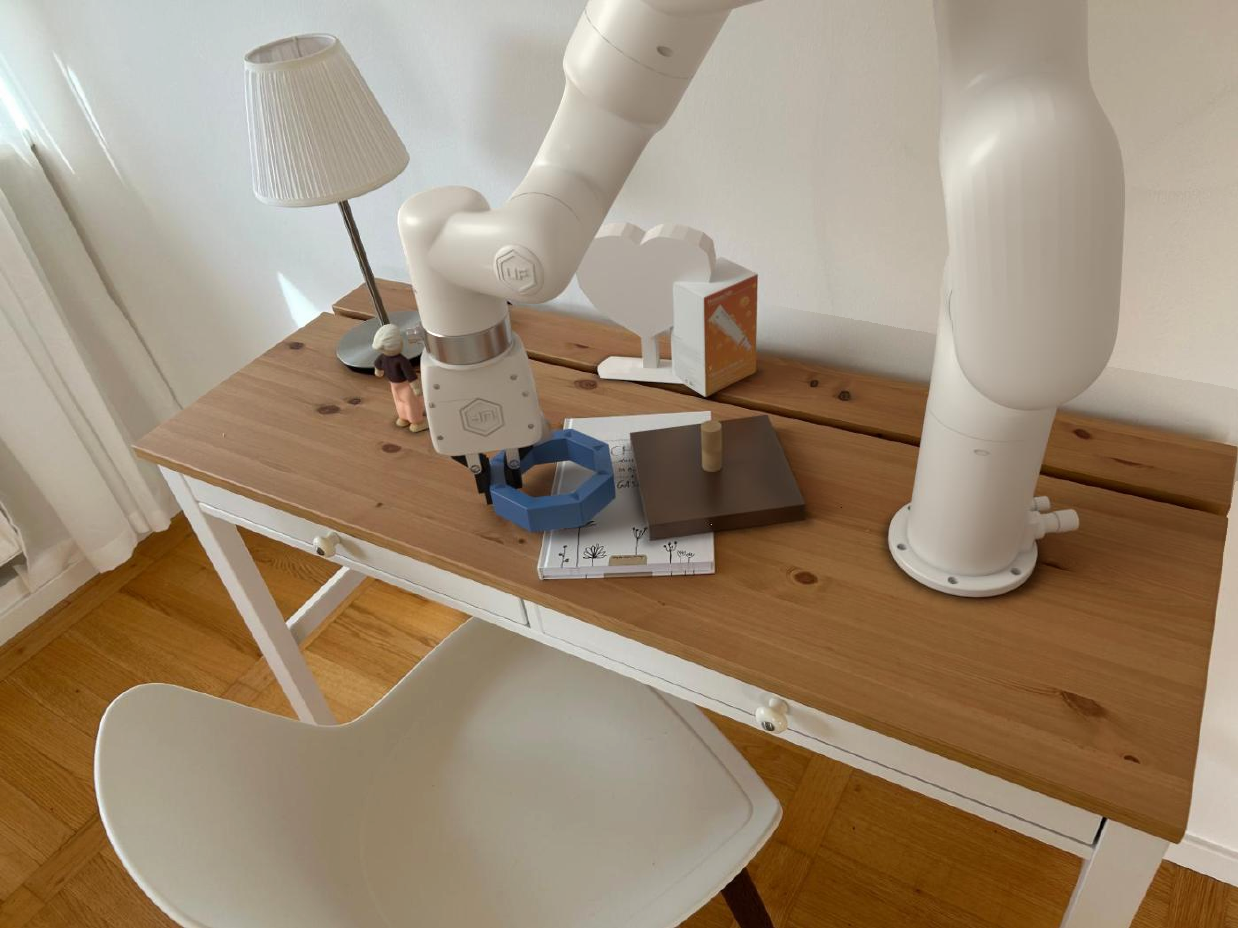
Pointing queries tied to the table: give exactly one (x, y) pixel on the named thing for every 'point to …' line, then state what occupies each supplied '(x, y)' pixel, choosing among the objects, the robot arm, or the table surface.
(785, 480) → the platform
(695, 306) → the small box
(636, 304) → the heart sculpture
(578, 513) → the ring
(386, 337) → the grandmother figurine
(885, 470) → the table surface
